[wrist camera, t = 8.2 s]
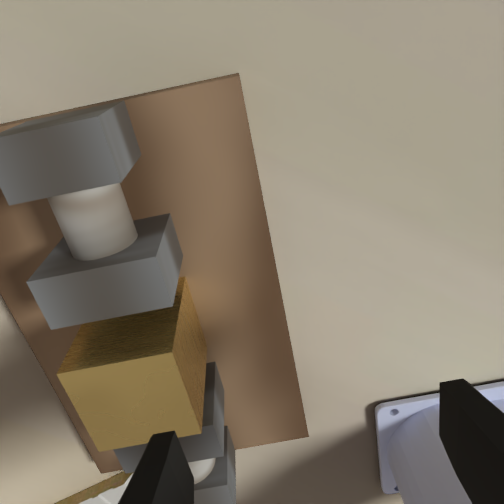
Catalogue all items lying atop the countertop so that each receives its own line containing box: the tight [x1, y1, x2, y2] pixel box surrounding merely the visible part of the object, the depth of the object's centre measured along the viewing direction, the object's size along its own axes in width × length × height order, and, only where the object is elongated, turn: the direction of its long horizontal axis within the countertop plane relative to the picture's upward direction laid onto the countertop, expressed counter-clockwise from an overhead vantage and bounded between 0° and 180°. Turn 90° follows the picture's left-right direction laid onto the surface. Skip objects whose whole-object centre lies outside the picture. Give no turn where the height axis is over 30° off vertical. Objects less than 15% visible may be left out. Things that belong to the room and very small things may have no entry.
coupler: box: [57, 277, 207, 452], centre depth 17 cm, size 4×4×5 cm
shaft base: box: [0, 73, 309, 504], centre depth 18 cm, size 12×19×5 cm, turn 11°
